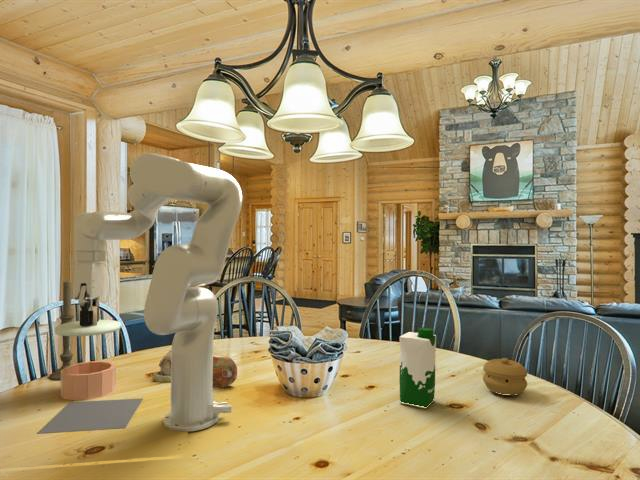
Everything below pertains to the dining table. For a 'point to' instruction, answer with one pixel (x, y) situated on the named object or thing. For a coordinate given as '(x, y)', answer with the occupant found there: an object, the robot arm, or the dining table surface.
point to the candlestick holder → (66, 318)
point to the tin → (223, 371)
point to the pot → (505, 376)
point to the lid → (88, 327)
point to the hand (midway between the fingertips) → (89, 322)
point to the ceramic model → (164, 369)
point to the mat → (92, 416)
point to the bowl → (88, 380)
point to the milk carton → (417, 367)
